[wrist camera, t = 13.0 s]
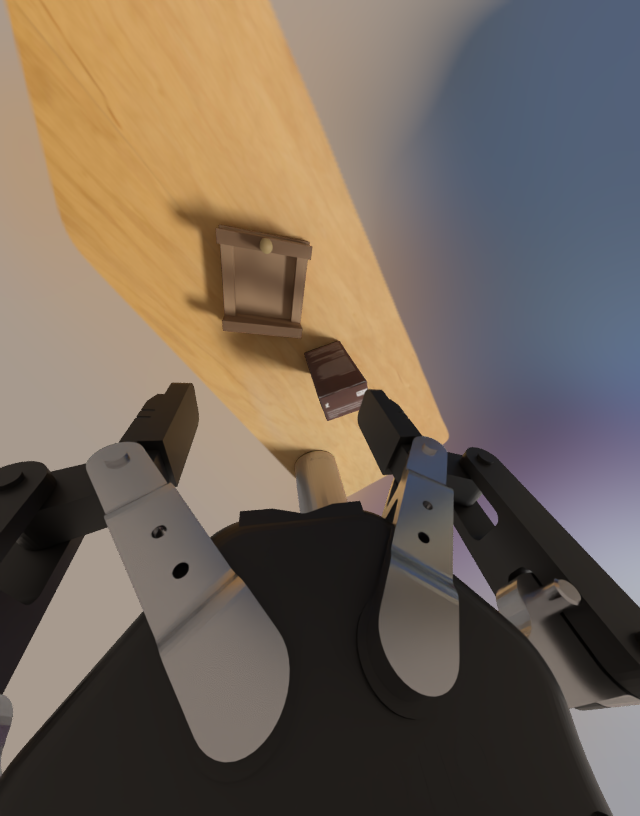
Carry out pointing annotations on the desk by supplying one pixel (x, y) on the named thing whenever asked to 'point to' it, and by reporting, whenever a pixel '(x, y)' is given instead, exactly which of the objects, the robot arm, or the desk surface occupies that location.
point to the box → (336, 380)
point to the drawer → (262, 281)
